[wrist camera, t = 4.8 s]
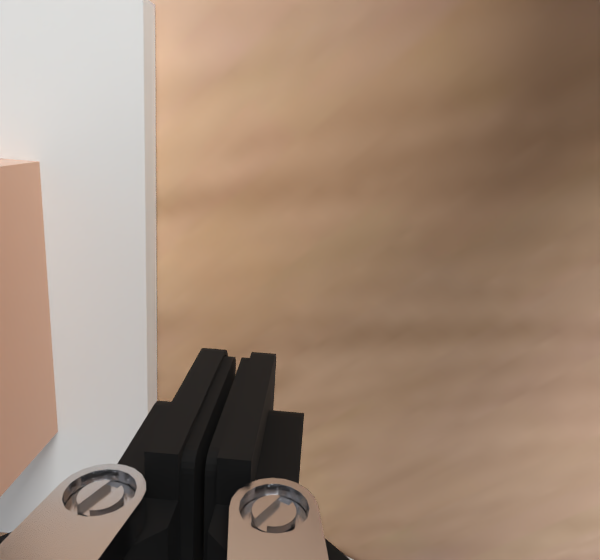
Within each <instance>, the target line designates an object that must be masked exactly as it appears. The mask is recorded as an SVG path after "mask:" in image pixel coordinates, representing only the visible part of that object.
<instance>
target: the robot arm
mask: <svg viewBox="0 0 600 560" xmlns="http://www.w3.org/2000/svg"><path fill="white" fill-rule="evenodd" d="M275 369H276V354H268V353H256V352H252V353H251V356H250V358H242V359H241V362H240V364H239V367H238V370H237V373H236V375H235V371H236V359H235V357H228V354H227V350H219V349H207V348H202V349H201V351H200V353H199V354H198V356H197V358H196V360H195V362H194V363H193V365H192V367H191V369H190V370H189V372H188V374H187V376H186V378H185V379H184V381H183V383H182V385H181V387H180V388H179V390H178V392H177V394H176V395H175V397H174V399H173V401H172V402H166V401H157V402H156V403H155V404H154V405H153V407H152V409H151V410H150V412H149V413H148V415H147V417H146V418H145V420H144V421H143V423H142V425H141V426H140V428H139V430H138V431H137V433H136V434H135V436H134V438H133V439H132V441H131V442H130V444H129V446H128V447H127V449H126V451H125V452H124V454H123V455H122V457H121V459H120V460H119V462H118V463H117V464H102V465H95V466H92V467H88V468H85V469H82V470H80V471H78V472H76V473H74V474H72V475H70V476H69V477H68V478H66V479H65V480H64V481H63V482H61V483H60V484H59V485H58V486H57V487H56V488H55V489H54V490H53V491H52V492H51V493H50V494H49V495H48V496H47V497H46V498H45V499H44V500H43V501H42V502H41V503H40V504H39V505H38V506H37V507H36V508H35V509H34V510H33V511H32V512H31V513H30V514H29V515H28V516H27V517H26V518H25V519H24V520H23V521H22V522H21V523H20V524H19V525H18V526H17V527H16V528H15V529H14V530H13V531H12V532H10V533H8V534H5V535H3V536H1V537H0V560H350V559H349V558H348V557H346V556H345V555H344V554H343V553H342V552H340V551H339V550H338V549H337V548H336V547H335V546H333V545H332V544H331V543H330V542H329V541H328V540H326V539H325V537H324V532H323V527H322V522H321V516H320V511H319V506H318V504H317V501H316V499H315V497H314V496H313V495H312V493H311V492H310V491H309V490H308V489H307V488H305V487H303V486H302V485H300V484H299V471H300V458H301V445H302V432H303V420H304V413H296V412H284V411H273V403H274V386H275Z"/></svg>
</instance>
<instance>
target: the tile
mask: <svg viewBox="0 0 600 560" xmlns="http://www.w3.org/2000/svg"><path fill="white" fill-rule="evenodd" d="M57 432H58V424H57V410H56V395H55V381H54V366H53V352H52V337H51V323H50V308H49V294H48V279H47V264H46V250H45V235H44V221H43V206H42V192H41V177H40V163H39V161H28V160H16V159H4V158H0V497H1V496H2V495H3V493H4V492H5V491H6V490H7V489H8V488H9V487H10V486H11V484H12V483H13V482H14V481H15V480H16V479H17V478H18V476H19V475H20V474H21V473H22V472H23V471H24V470H25V468H26V467H27V466H28V465H29V464H30V463H31V462H32V461H33V459H34V458H35V457H36V456H37V455H38V454H39V453H40V451H41V450H42V449H43V448H44V447H45V446H46V445H47V443H48V442H49V441H50V440H51V439H52V438H53V437H54V435H55V434H56V433H57Z"/></svg>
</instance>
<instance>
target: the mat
mask: <svg viewBox="0 0 600 560" xmlns="http://www.w3.org/2000/svg"><path fill="white" fill-rule="evenodd" d="M0 158H4V159H16V160H28V161H39V163H40V177H41V192H42V206H43V221H44V235H45V250H46V264H47V279H48V294H49V308H50V323H51V337H52V352H53V366H54V381H55V395H56V410H57V424H58V432H57V433H56V434H55V435H54V437H53V438H52V439H51V440H50V441H49V442H48V443H47V445H46V446H45V447H44V448H43V449H42V450H41V451H40V453H39V454H38V455H37V456H36V457H35V458H34V459H33V461H32V462H31V463H30V464H29V465H28V466H27V467H26V468H25V470H24V471H23V472H22V473H21V474H20V475H19V476H18V478H17V479H16V480H15V481H14V482H13V483H12V484H11V486H10V487H9V488H8V489H7V490H6V491H5V492H4V493H3V495H2V496H1V497H0V532H4V533H10V532H12V531H13V530H14V529H15V528H16V527H17V526H18V525H19V524H20V523H21V522H22V521H23V520H24V519H25V518H26V517H27V516H28V515H29V514H30V513H31V512H32V511H33V510H34V509H35V508H36V507H37V506H38V505H39V504H40V503H41V502H42V501H43V500H44V499H45V498H46V497H47V496H48V495H49V494H50V493H51V492H52V491H53V490H54V489H55V488H56V487H57V486H58V485H59V484H60V483H61V482H63V481H64V480H65V479H66V478H68V477H69V476H70V475H72V474H74V473H76V472H78V471H80V470H82V469H85V468H88V467H92V466H95V465H102V464H117V463H118V462H119V460H120V459H121V457H122V455H123V454H124V452H125V451H126V449H127V447H128V446H129V444H130V442H131V441H132V439H133V438H134V436H135V434H136V433H137V431H138V430H139V428H140V426H141V425H142V423H143V421H144V420H145V418H146V417H147V415H148V413H149V412H150V410H151V409H152V407H153V405H154V404H155V403H156V402H157V260H156V66H155V4H153V3H152V2H151V1H149V0H0Z"/></svg>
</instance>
